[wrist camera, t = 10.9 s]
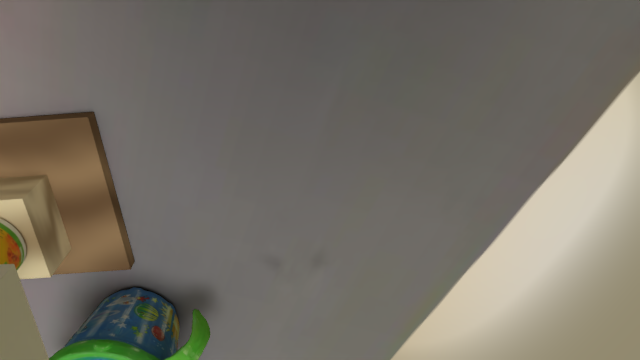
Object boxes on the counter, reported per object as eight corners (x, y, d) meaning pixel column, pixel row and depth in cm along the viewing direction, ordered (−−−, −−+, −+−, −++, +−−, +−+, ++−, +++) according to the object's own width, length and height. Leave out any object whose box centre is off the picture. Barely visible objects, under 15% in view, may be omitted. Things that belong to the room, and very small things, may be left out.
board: (-109, 126, 42) (-120, 132, 41) (93, 111, 41) (87, 117, 40) (-42, 273, 48) (-51, 281, 47) (134, 261, 48) (130, 269, 46)
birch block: (-40, 181, 43) (-73, 205, 39) (46, 174, 42) (22, 198, 39) (-10, 254, 46) (-37, 282, 42) (71, 248, 45) (50, 277, 42)
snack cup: (195, 250, 47) (167, 330, 38) (238, 337, 52) (222, 427, 43) (38, 294, 49) (-25, 380, 40) (92, 374, 54) (47, 468, 44)
